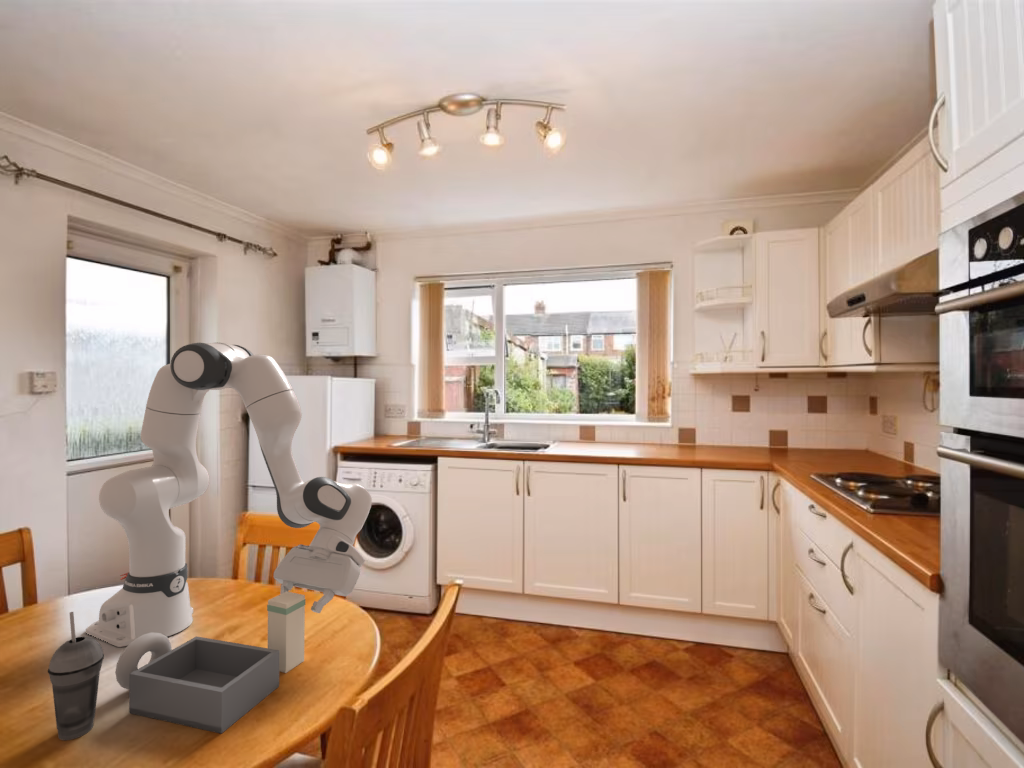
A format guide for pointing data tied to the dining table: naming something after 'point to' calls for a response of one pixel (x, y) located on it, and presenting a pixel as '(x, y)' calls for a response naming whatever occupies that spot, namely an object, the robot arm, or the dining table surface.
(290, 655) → the juice carton
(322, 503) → the robot arm
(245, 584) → the dining table surface
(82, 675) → the beverage cup
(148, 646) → the donut
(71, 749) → the dining table surface
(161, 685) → the box
